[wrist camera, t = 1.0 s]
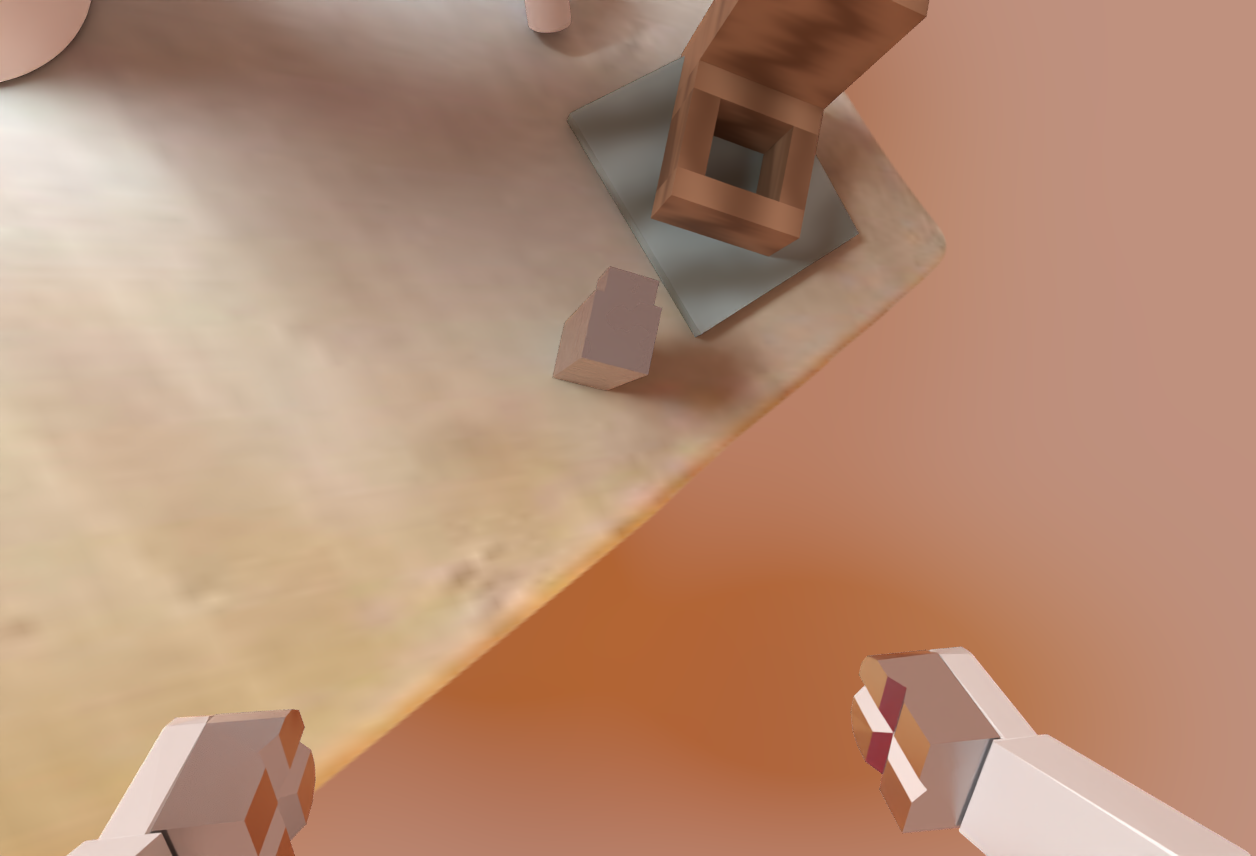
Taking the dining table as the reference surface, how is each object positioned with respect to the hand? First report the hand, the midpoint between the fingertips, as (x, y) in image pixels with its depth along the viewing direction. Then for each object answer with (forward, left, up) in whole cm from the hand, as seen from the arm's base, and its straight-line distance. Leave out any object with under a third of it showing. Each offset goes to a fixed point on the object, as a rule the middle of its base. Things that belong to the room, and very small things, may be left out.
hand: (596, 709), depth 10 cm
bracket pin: (-5, +12, -37) cm, 39 cm away
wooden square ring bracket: (-11, +28, -37) cm, 47 cm away
